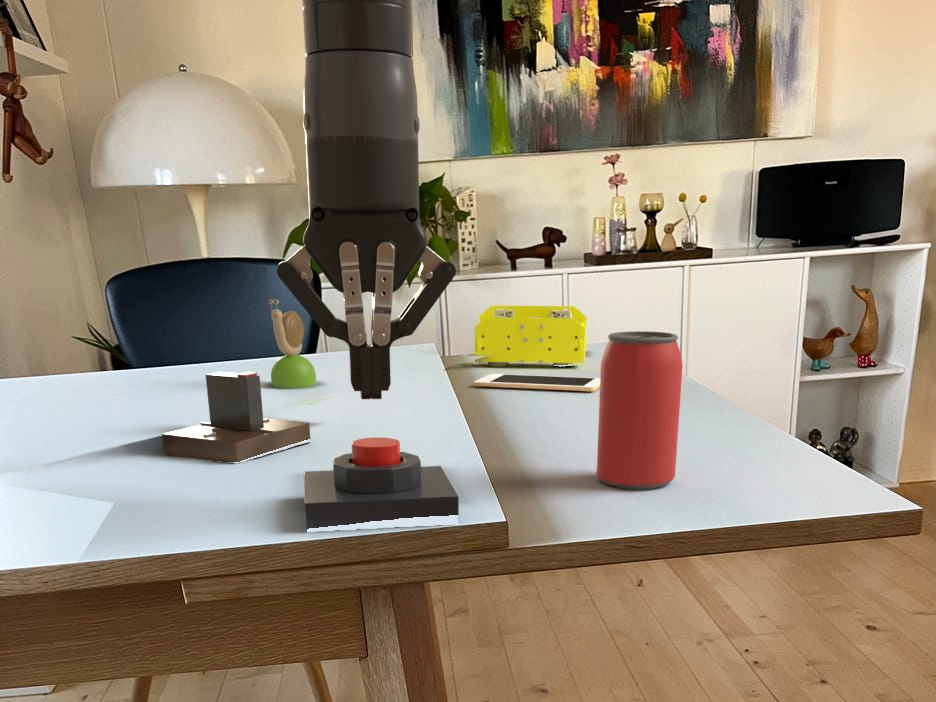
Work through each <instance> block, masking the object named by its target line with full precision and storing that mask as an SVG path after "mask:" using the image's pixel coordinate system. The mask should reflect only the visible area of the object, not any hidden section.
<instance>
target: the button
mask: <svg viewBox="0 0 936 702" xmlns="http://www.w3.org/2000/svg"><path fill="white" fill-rule="evenodd" d="M400 452H401V442H400V440H399V439H397V438H392V437H364V438H358V439H355V440H353V441H351V453H352V463H353V464H355V465H361V466H388V465H393V464H399V463H400Z"/></svg>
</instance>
